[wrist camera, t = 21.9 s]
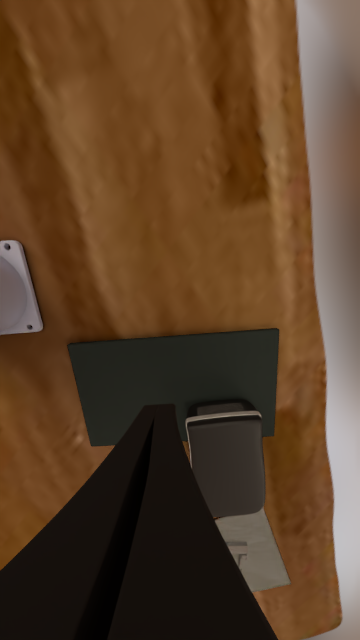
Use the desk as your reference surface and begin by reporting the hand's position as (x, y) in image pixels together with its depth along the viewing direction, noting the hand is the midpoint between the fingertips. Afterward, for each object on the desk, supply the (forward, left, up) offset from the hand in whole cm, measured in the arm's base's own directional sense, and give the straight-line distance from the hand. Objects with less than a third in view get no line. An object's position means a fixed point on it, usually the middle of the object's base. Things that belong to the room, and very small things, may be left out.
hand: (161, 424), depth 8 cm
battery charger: (+4, -6, -8) cm, 11 cm away
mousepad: (+2, -28, -11) cm, 30 cm away
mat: (0, -6, -10) cm, 12 cm away
